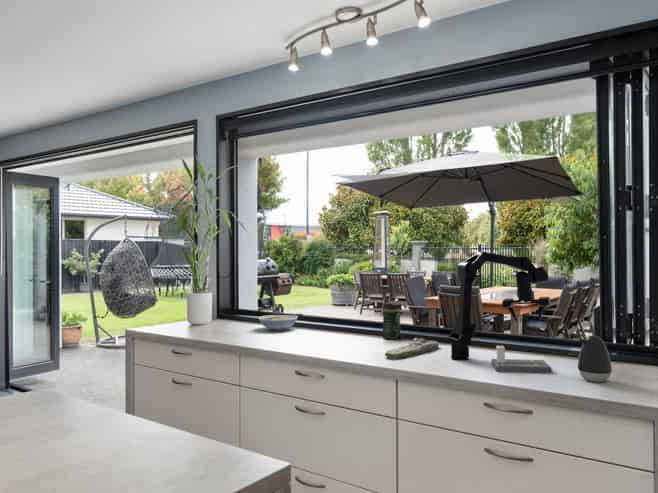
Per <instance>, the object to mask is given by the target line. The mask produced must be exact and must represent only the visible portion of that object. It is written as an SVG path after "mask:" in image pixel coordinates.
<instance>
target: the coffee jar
mask: <svg viewBox="0 0 658 493" xmlns="http://www.w3.org/2000/svg"><path fill="white" fill-rule="evenodd" d="M382 314H383V315H382V316H383V317H382V320H383V322H382V338H383V339H386V340H396V339H399V338H398V337H399V333H400V331H402V330H401V303H400V302H399V301H388V302H387V301H386V302H384V303H383V304H382Z"/></svg>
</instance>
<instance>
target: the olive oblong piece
mask: <svg viewBox="0 0 658 493" xmlns="http://www.w3.org/2000/svg"><path fill="white" fill-rule="evenodd" d="M439 345H440V344H439V342H438V341H435V340H427V339H426V338H422V337H420V338H418V337H414V338H413V339H412V342H409V343H408V345H404V346H400V347H397V348H394V349H389V350H386V352H385V354H384V357H386V359H388V360H393V359H395V360H399V359H403V358H408V357H413V356H417V355H421V354H422V353H428V352H430V351H434V350H436V349H437V348H439Z"/></svg>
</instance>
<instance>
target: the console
mask: <svg viewBox="0 0 658 493" xmlns="http://www.w3.org/2000/svg"><path fill="white" fill-rule="evenodd" d="M491 365H492V366H493V369H494V370H495V372H496V373H497V372H505V373H506V372H507V373H508V372H509V373H538V374H539V373H541V374H551V373H552V366H550V364H548V363H547V362H546V361H545V360H544V359H516V358H515V359H514V358H513V359H510V358H509V359H508V358H505V363H498V362H497V358H491Z"/></svg>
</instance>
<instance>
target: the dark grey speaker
mask: <svg viewBox="0 0 658 493" xmlns="http://www.w3.org/2000/svg"><path fill="white" fill-rule="evenodd" d="M578 341H579V343H582V345H581V348H580V350H579V355H578V359H577V360H578V361H577V369H578V371H579V374H580V377H582V378H583V379H584V380H585V381H587V382H592V383H603V382H607V380H609V378H610V377H611V373H612V372H613V368H612V360H611V358H610V354H609V351H608V348H607V346H606V344H605V342H604V340H603V339H602V338H601V337H600V336H598V335H588V336H587V337H586V338H585V339H584V338H581V337H579V338H578Z"/></svg>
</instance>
